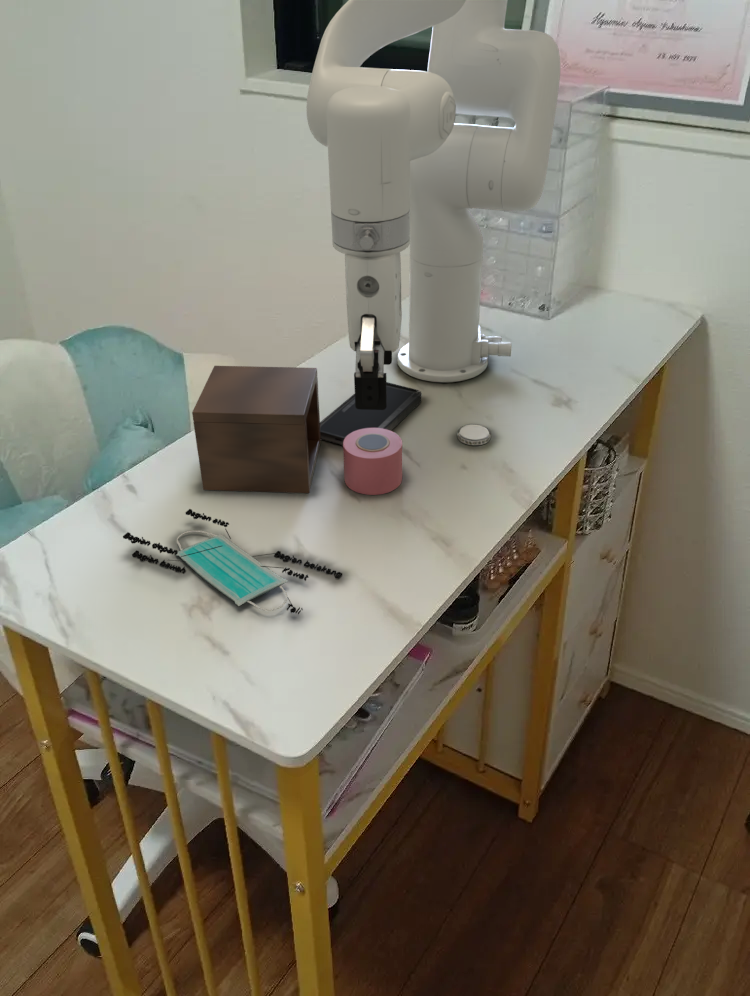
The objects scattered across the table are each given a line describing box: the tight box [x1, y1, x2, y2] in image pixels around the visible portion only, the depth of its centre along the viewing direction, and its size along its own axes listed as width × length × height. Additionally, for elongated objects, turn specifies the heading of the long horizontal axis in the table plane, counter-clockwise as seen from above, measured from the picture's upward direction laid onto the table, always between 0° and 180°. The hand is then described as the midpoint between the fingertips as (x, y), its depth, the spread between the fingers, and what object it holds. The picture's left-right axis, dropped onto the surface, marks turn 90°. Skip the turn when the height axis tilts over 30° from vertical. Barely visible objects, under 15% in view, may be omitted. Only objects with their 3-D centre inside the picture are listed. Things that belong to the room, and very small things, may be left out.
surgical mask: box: [122, 508, 343, 615], centre depth 89 cm, size 21×4×10 cm
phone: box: [320, 381, 422, 447], centre depth 114 cm, size 8×1×15 cm
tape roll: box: [342, 428, 403, 496], centre depth 102 cm, size 7×7×5 cm
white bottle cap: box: [457, 423, 492, 446], centre depth 110 cm, size 4×4×1 cm
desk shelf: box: [191, 365, 322, 494], centre depth 103 cm, size 12×11×10 cm
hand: (374, 384), depth 97 cm, fingers open, 9 cm apart
